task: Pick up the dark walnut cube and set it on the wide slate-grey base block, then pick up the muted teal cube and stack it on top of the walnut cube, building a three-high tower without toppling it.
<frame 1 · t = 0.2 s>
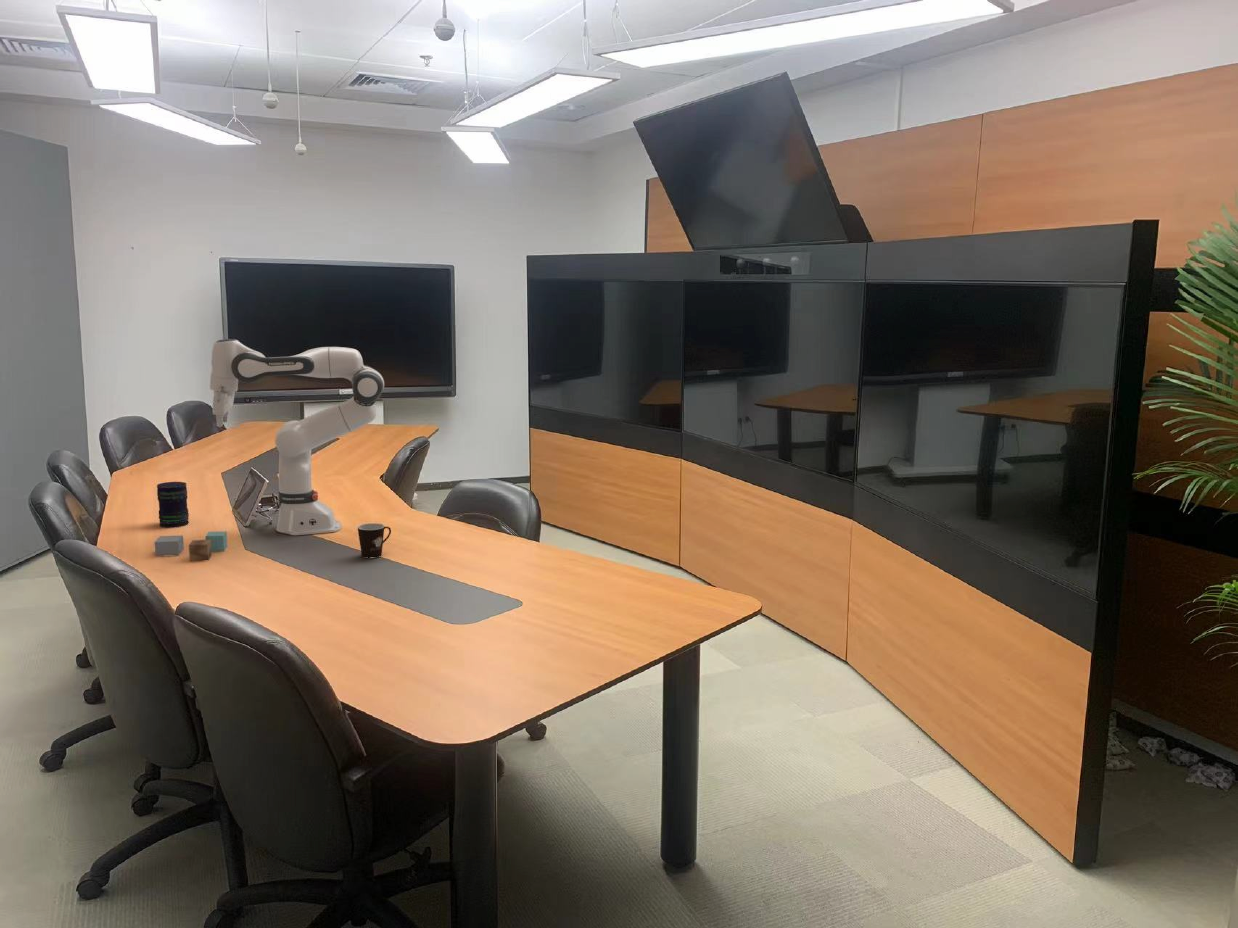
hand: (221, 424, 316), 39 cm above the table, tool pointing down, fingers open, 8 cm apart
walnut cube: (200, 558, 291), on the table
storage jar: (174, 524, 330), on the table
teal cube: (217, 549, 301), on the table
grey base block: (169, 553, 296), on the table
coffee mug: (376, 555, 300), on the table
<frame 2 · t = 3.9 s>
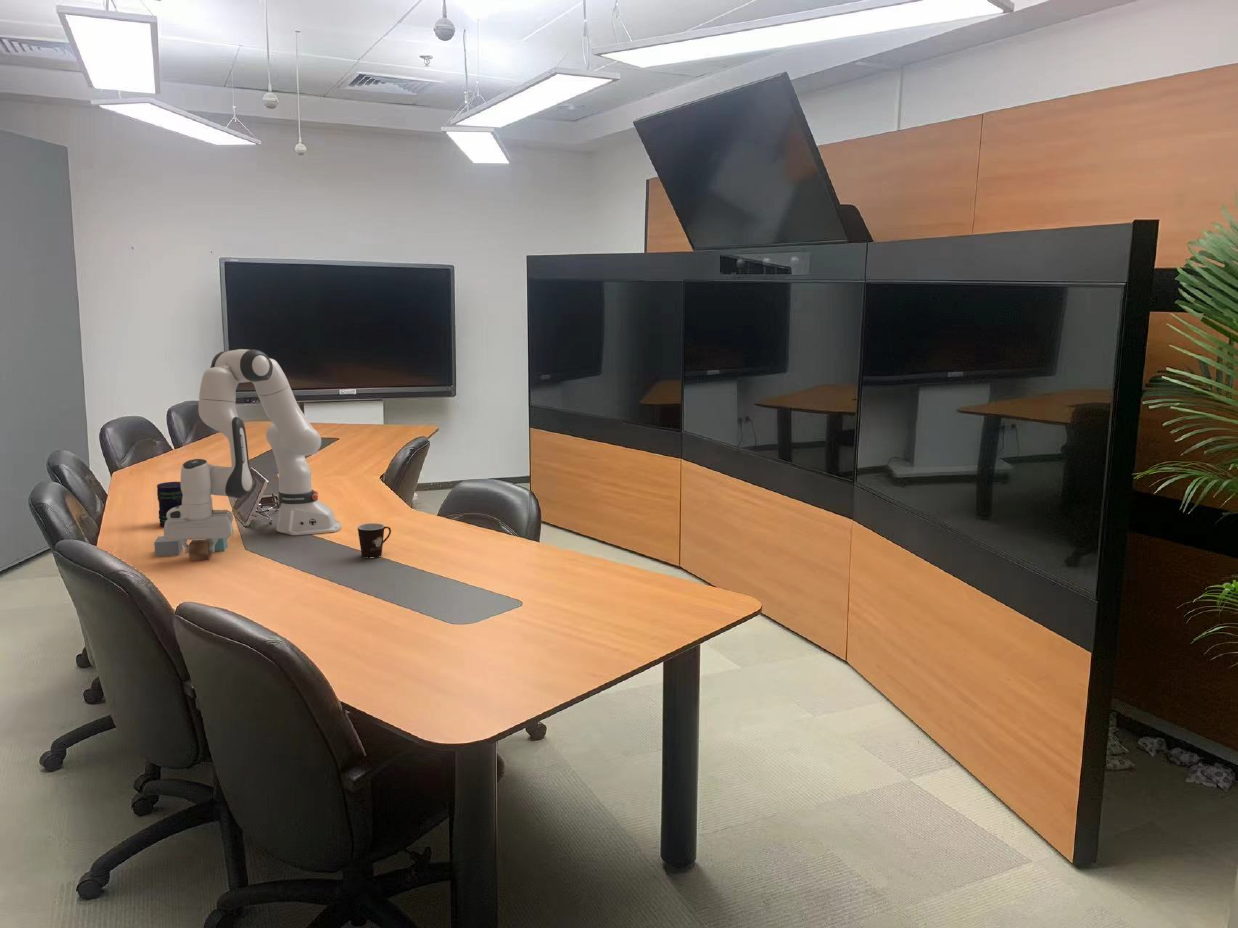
hand: (200, 552, 291), 2 cm above the table, tool pointing down, fingers closed on walnut cube, 5 cm apart
walnut cube: (200, 558, 291), on the table, touching gripper
everything else where it was.
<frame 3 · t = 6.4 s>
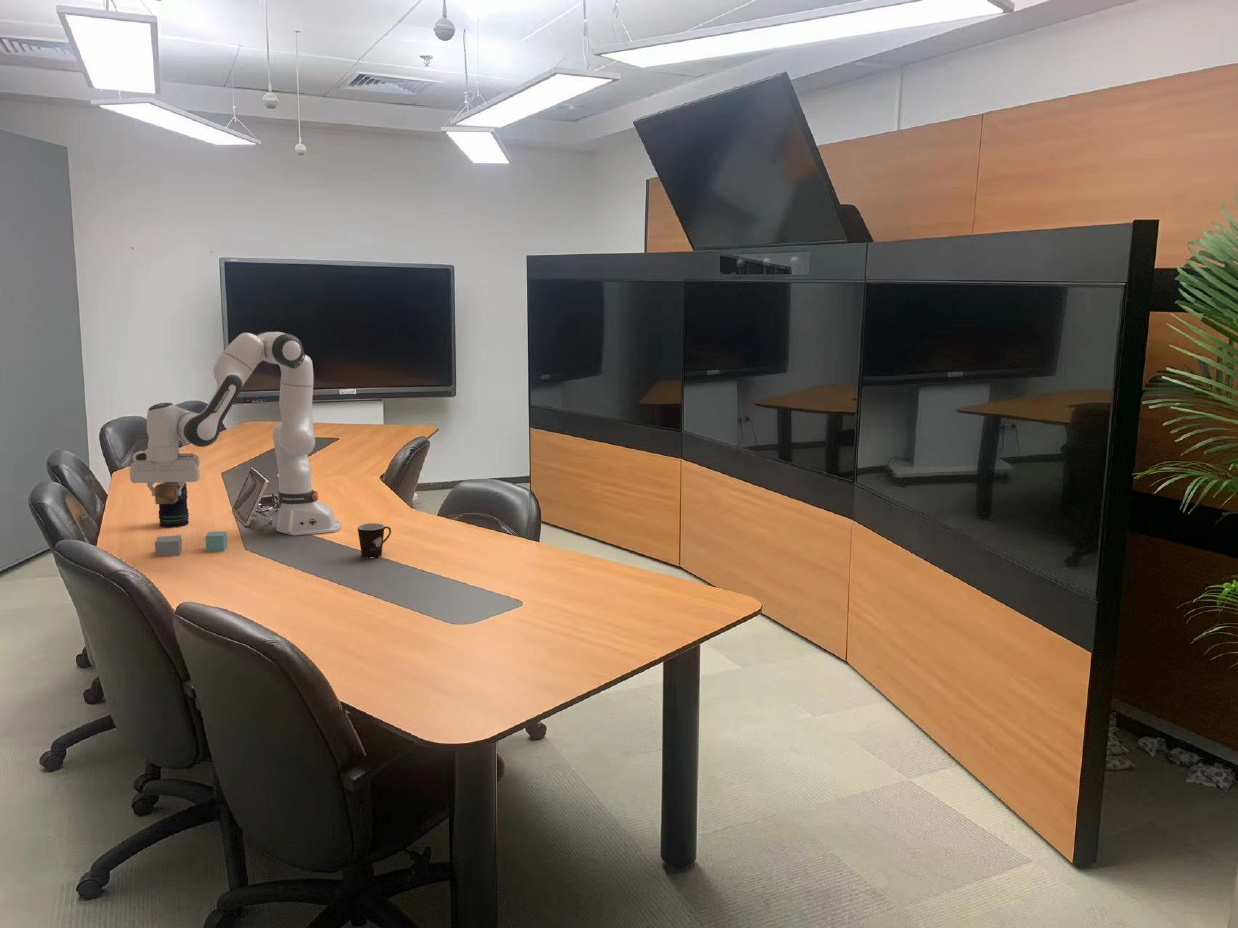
hand: (166, 495, 292), 19 cm above the table, tool pointing down, fingers closed on walnut cube, 5 cm apart
walnut cube: (167, 502, 293), point 17 cm above the table, touching gripper
everything else where it was.
when the fingers open (8 cm above the table, at t = 9.0 s): walnut cube drops 1 cm, resting on grey base block.
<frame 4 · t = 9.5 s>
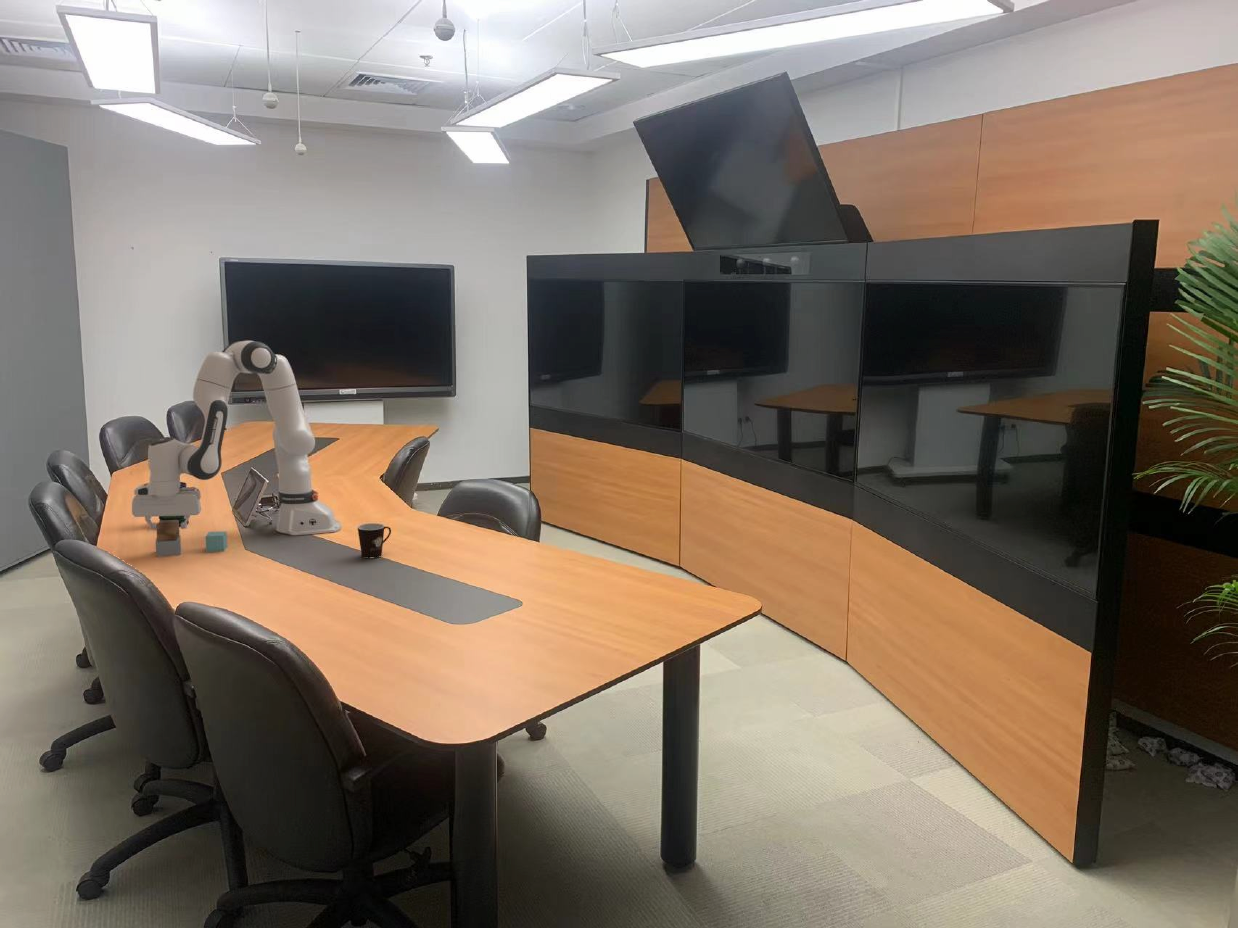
hand: (168, 528, 295), 8 cm above the table, tool pointing down, fingers open, 8 cm apart
walnut cube: (168, 538, 295), point 5 cm above the table, touching grey base block
grey base block: (169, 553, 296), on the table, touching walnut cube
everything else where it was.
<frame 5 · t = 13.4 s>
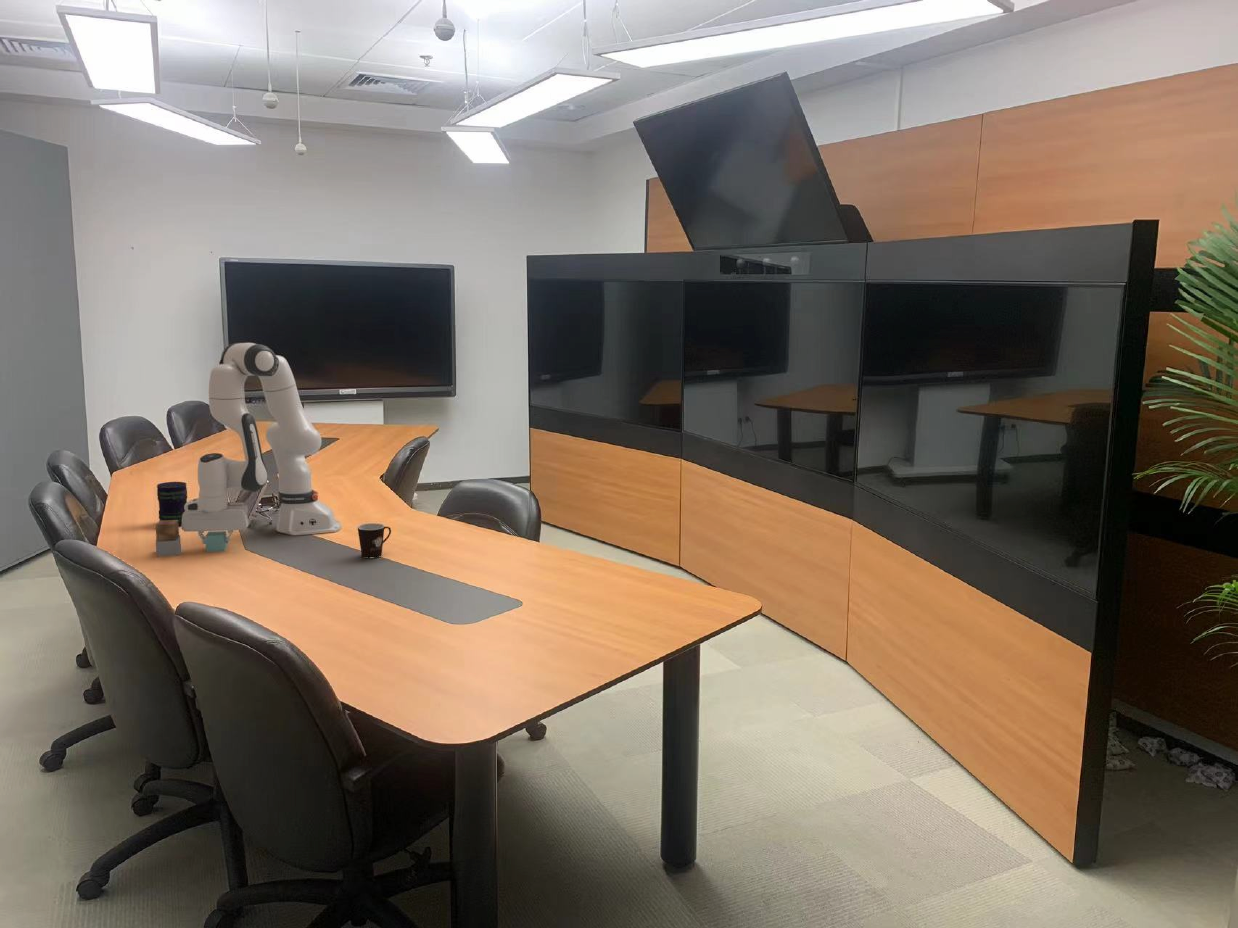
hand: (216, 543, 301), 2 cm above the table, tool pointing down, fingers closed on teal cube, 5 cm apart
teal cube: (216, 549, 301), on the table, touching gripper
everything else where it was.
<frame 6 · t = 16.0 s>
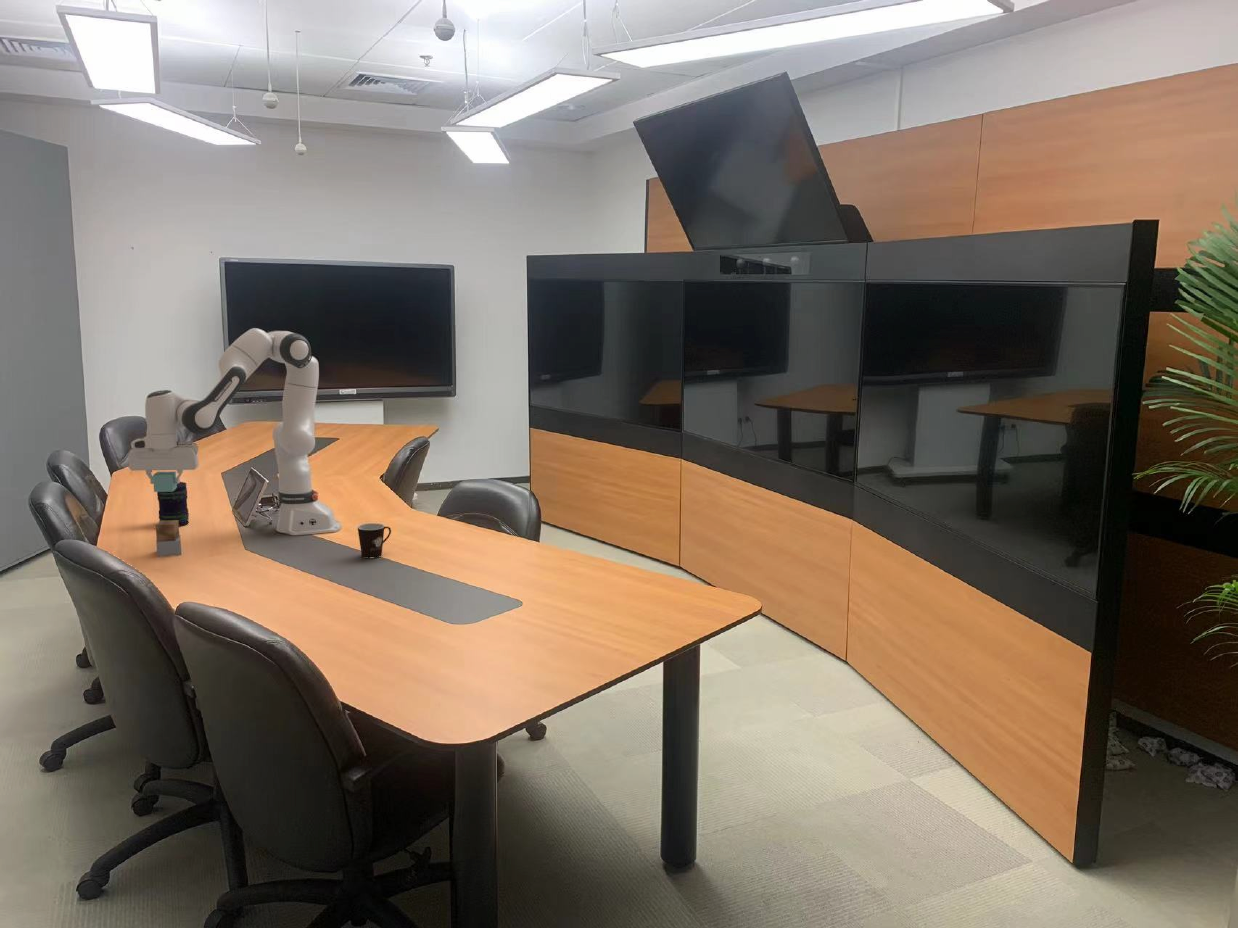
hand: (165, 483, 292), 23 cm above the table, tool pointing down, fingers closed on teal cube, 5 cm apart
teal cube: (165, 489, 292), point 21 cm above the table, touching gripper
everything else where it was.
when the fingers open (14 cm above the table, at t = 18.2 s): teal cube drops 1 cm, resting on walnut cube.
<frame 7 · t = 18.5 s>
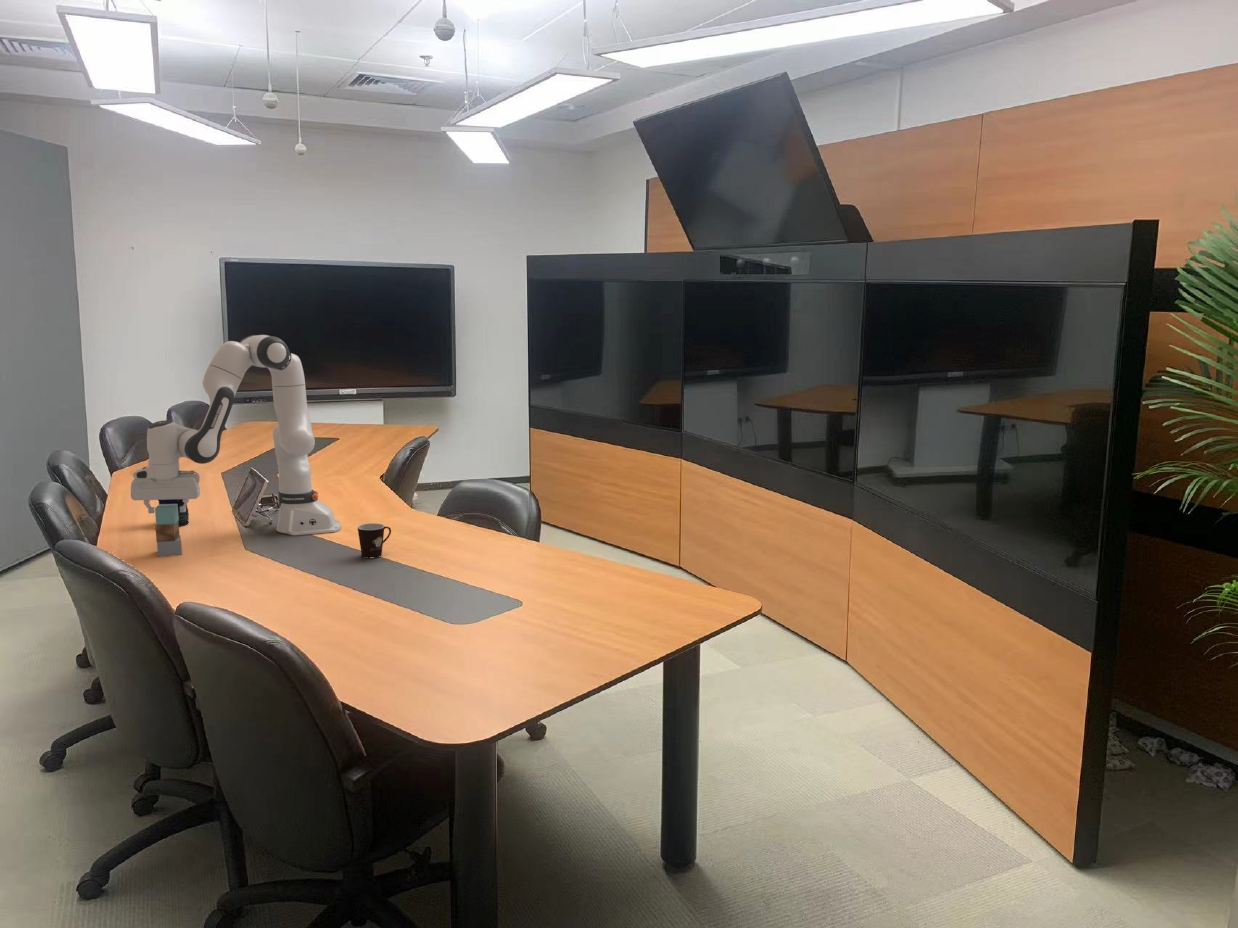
hand: (167, 512, 294), 14 cm above the table, tool pointing down, fingers open, 8 cm apart
walnut cube: (168, 538, 295), point 5 cm above the table, touching grey base block, teal cube
teal cube: (167, 522, 294), point 10 cm above the table, touching walnut cube
everything else where it was.
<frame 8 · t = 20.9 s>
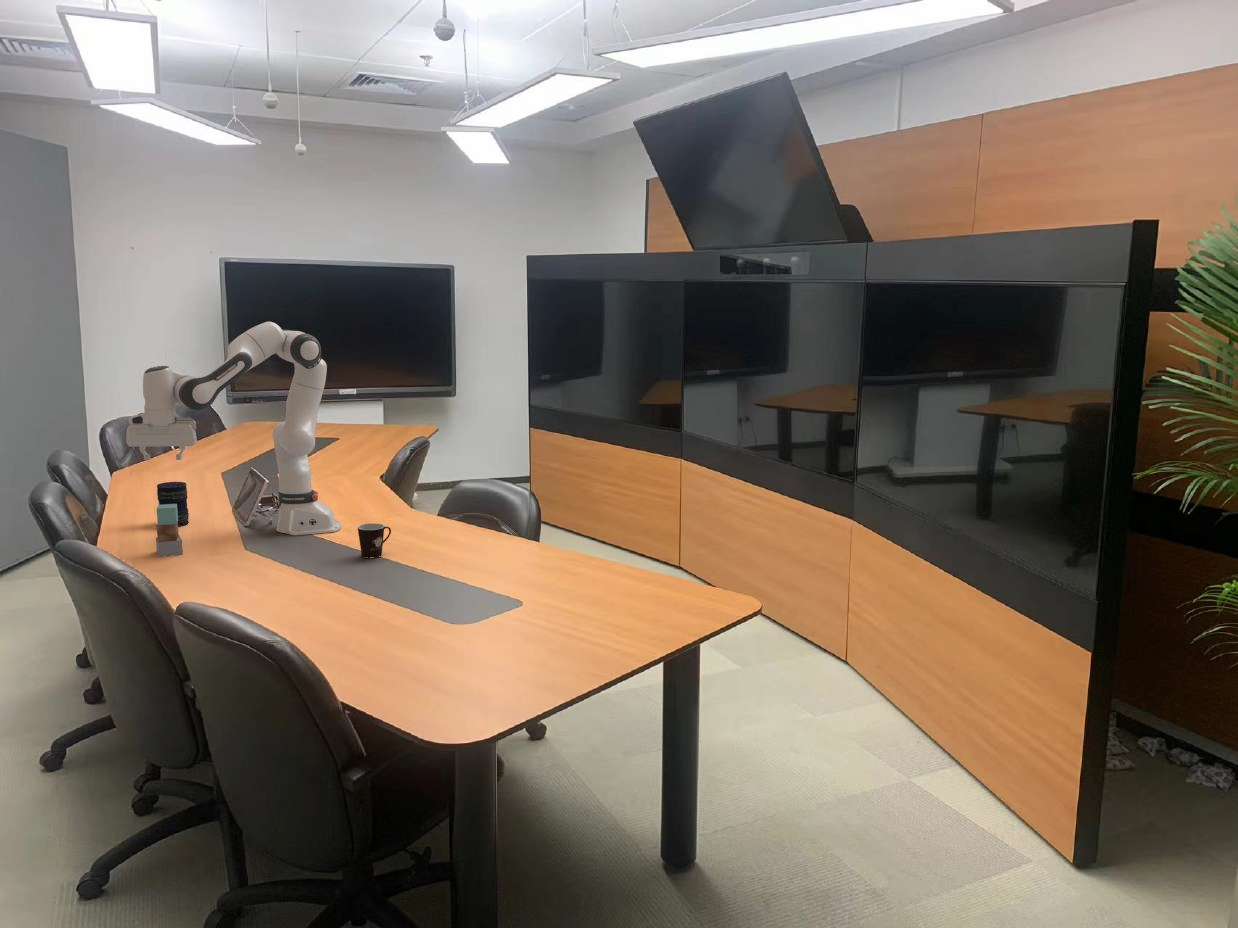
hand: (163, 459, 290), 31 cm above the table, tool pointing down, fingers open, 8 cm apart
nothing on the table moved.
at the end: walnut cube 0.3 cm off-centre on the grey base block, point 5.0 cm above the grey base block's base; teal cube 0.1 cm off-centre on the grey base block, point 10.5 cm above the grey base block's base; grey base block tilted 0° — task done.
